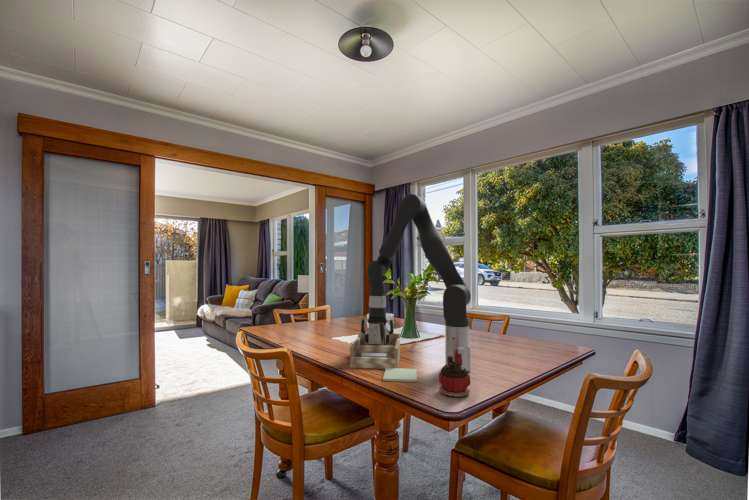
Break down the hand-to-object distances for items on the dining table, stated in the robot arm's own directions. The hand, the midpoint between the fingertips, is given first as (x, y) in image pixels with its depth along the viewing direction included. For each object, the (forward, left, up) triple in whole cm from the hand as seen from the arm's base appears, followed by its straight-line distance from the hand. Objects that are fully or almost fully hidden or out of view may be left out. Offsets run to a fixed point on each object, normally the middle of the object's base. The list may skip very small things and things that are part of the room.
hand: (377, 342), depth 157 cm
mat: (-11, +23, -7) cm, 26 cm away
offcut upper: (0, +10, -5) cm, 11 cm away
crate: (0, +4, -7) cm, 8 cm away
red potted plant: (-29, +38, -7) cm, 49 cm away
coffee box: (0, 0, -7) cm, 7 cm away
